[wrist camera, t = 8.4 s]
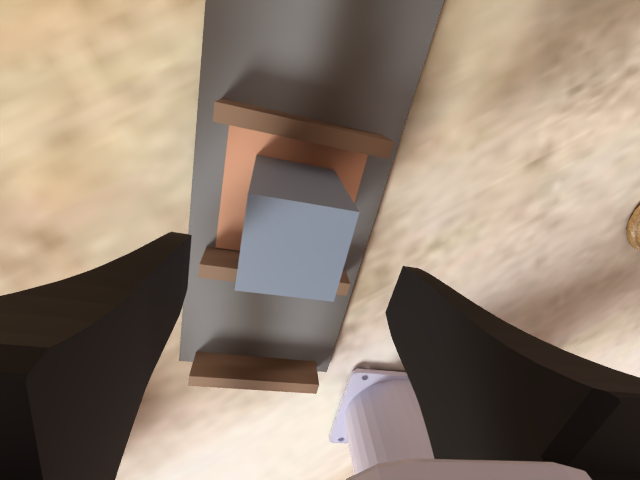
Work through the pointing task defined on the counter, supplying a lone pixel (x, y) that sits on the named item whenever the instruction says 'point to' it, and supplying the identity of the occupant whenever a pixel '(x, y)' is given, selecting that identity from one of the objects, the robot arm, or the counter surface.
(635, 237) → the sprinkles bottle
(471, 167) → the counter surface
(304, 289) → the plug block
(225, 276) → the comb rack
